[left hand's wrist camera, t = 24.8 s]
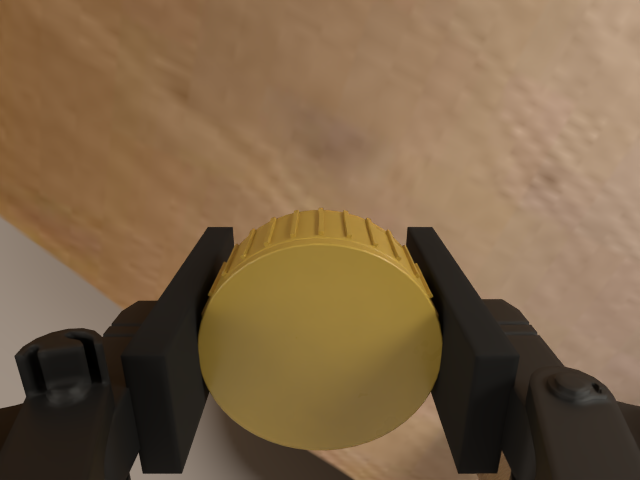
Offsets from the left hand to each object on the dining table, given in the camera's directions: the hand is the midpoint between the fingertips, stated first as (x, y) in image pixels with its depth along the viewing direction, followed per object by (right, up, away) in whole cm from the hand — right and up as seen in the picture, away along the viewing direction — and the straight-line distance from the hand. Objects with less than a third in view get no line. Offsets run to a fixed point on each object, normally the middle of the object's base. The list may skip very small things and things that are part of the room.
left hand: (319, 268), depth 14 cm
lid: (0, -2, -4) cm, 4 cm away
